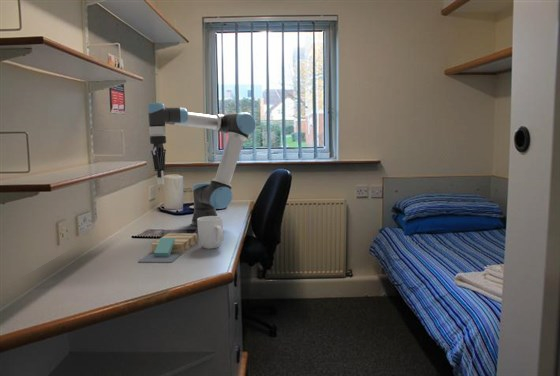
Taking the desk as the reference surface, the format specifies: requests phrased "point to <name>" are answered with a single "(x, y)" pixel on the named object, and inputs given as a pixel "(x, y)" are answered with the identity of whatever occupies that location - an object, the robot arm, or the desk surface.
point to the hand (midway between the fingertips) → (160, 184)
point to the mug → (210, 231)
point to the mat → (161, 258)
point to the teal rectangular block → (164, 247)
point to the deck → (179, 242)
